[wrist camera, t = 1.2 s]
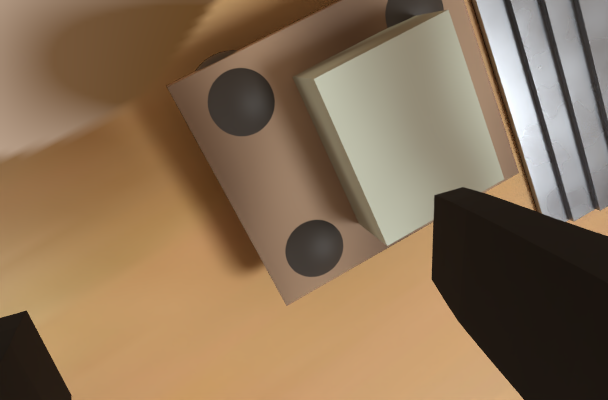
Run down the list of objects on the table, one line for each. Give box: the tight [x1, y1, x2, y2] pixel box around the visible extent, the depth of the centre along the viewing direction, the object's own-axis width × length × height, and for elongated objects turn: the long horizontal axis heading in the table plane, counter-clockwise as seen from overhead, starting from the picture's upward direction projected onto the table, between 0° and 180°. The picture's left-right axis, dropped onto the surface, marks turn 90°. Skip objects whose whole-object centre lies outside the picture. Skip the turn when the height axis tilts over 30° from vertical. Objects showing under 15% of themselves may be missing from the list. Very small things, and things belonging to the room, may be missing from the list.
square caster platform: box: [167, 0, 519, 306], centre depth 18 cm, size 10×9×5 cm
